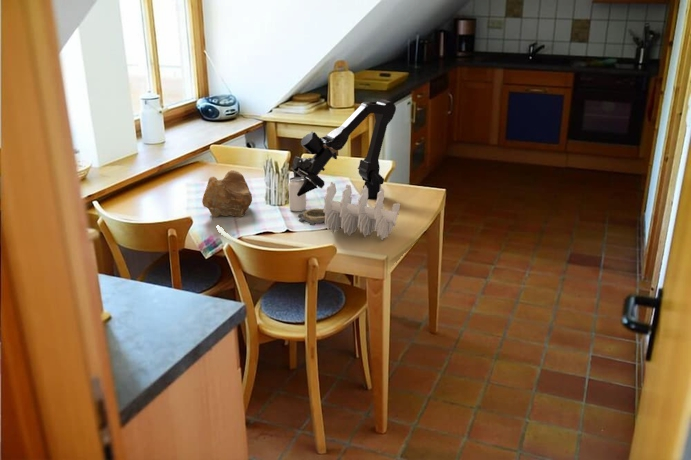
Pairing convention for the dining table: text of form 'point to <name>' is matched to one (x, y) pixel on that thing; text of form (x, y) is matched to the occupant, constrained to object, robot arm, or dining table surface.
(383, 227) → the white pleated crown
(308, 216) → the gear plate
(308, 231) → the dining table surface
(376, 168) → the robot arm
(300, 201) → the can
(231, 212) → the rough brown rock
